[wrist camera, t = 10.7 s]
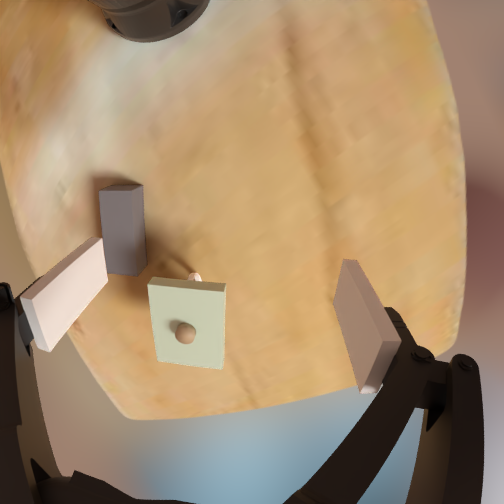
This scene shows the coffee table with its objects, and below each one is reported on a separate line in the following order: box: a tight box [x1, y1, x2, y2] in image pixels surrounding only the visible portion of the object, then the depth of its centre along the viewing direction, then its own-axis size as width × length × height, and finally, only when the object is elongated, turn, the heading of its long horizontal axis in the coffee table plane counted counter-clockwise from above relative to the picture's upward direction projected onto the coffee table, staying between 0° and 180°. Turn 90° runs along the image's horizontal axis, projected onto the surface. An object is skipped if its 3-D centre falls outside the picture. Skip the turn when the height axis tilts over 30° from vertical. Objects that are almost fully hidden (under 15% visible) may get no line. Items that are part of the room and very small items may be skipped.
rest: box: [99, 185, 147, 276], centre depth 40 cm, size 12×5×4 cm, turn 177°
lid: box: [147, 277, 226, 370], centre depth 36 cm, size 12×9×3 cm
